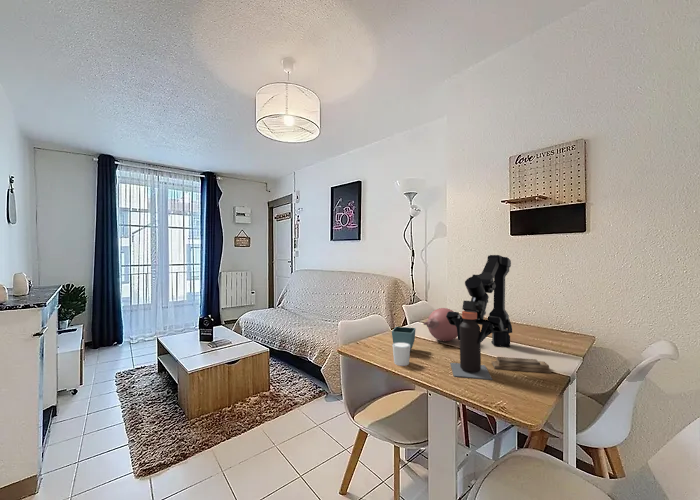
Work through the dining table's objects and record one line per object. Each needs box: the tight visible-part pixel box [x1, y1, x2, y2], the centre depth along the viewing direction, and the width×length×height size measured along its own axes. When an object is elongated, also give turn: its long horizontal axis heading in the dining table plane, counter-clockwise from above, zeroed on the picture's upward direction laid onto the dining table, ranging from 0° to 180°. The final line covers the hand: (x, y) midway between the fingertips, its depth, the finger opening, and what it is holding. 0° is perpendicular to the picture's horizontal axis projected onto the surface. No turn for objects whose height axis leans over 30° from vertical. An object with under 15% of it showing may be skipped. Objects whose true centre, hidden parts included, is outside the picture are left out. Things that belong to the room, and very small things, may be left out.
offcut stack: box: [491, 356, 552, 374], centre depth 108 cm, size 18×5×3 cm, turn 76°
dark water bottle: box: [459, 310, 482, 372], centre depth 105 cm, size 7×7×20 cm
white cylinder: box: [391, 342, 411, 367], centre depth 114 cm, size 7×7×7 cm
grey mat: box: [450, 362, 493, 381], centre depth 105 cm, size 12×12×1 cm
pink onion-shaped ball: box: [422, 307, 458, 342], centre depth 141 cm, size 15×20×15 cm
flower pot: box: [391, 326, 416, 351], centre depth 128 cm, size 9×9×9 cm
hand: (468, 341), depth 104 cm, fingers closed on dark water bottle, 6 cm apart
